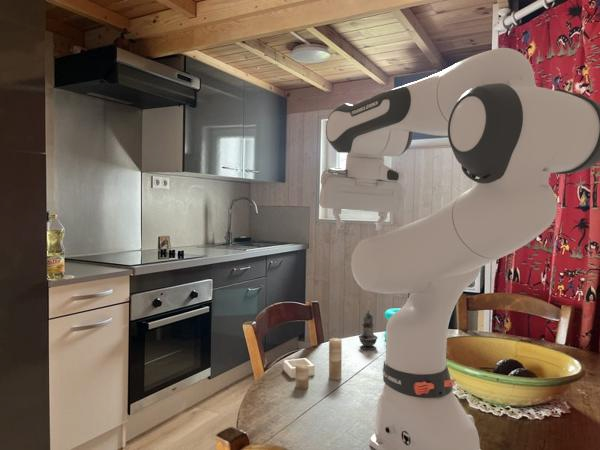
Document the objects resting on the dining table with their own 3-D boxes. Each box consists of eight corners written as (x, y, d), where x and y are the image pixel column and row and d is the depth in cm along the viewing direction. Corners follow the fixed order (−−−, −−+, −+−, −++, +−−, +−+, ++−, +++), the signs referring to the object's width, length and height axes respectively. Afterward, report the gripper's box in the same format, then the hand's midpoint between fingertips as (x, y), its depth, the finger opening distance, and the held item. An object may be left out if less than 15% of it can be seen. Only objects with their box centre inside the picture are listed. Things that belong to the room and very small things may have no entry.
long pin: (343, 379, 114) (343, 341, 114) (331, 381, 113) (332, 342, 112) (338, 375, 117) (338, 337, 117) (327, 376, 116) (327, 338, 115)
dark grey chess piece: (376, 345, 143) (377, 308, 142) (378, 351, 137) (378, 312, 136) (358, 345, 143) (358, 308, 143) (358, 350, 137) (359, 312, 137)
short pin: (310, 388, 108) (310, 368, 108) (298, 390, 107) (298, 369, 107) (305, 383, 111) (305, 364, 111) (293, 385, 110) (293, 365, 110)
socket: (314, 375, 117) (314, 365, 117) (291, 378, 115) (291, 368, 115) (305, 366, 123) (305, 357, 123) (283, 369, 121) (283, 360, 121)
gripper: (326, 167, 99) (320, 228, 100) (409, 175, 104) (403, 233, 105) (318, 167, 105) (313, 225, 106) (396, 175, 110) (391, 230, 111)
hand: (358, 229), depth 106 cm, fingers open, 8 cm apart
